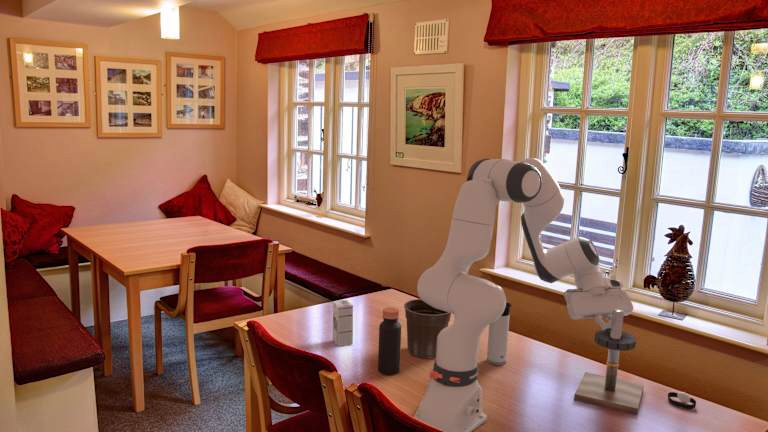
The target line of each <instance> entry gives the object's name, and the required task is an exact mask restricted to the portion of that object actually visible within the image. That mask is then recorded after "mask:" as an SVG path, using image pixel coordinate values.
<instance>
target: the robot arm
mask: <svg viewBox="0 0 768 432" xmlns="http://www.w3.org/2000/svg"><path fill="white" fill-rule="evenodd" d="M499 202H509V203H510V202H511V203H512V202H514V203H519V204H521V203H522V204H523V207H524V211H523V213H522V214H521V215H520V222H521V223H520V224H521V227H522V231H523V234H524V237H525V241H526V243H527V246H528V249H529V251H530V254H531V258H532V260H533V266H534V271H535V273H536V274H537V275H536V276H537V277H538V278H539V279H540V280H541V281H543V282H546V283H548V284H553V283H556V282H557V281H560V280H561V279H563V278H565V277H569V276H570V275H573V277H574V283H575V287H576V288H573V289H572V288H568V289H566V290H565V291H564V293H563V298H564V300H565V301H566V307H567V312H568V315H569V318H571V319H572V320H582V319H583V320H584V319H585V320H586V319H594V321H595V323H596V324H598V325H599V326H600V327H601V330H602V331H608V330H611V322H612V313H613V310H614V309H619V310H622V311H624V315H623V317H625V316H629V315H630V314H632V312H633V311H634V305H633V302H632V300H631V298H630V295H629V293H628V292H627V291H626V290H625V289H623V287H624V284H623V282H622V281H620V280H619V279H613V278H610V277H608V276H605V274H604V273H603V271H602V270H601V268H600V262H599V261H600V257H599V253H598V252H597V249H596V246H595V244H594V243H593V242H592V241H593V240H590V239H588V238H585V237H583V236H579V237H574V238H571V239H570V240H567V241H565V242H563V243H560V244H559V245H555V246H552V247H550V248H544V246H543V243H542V240H541V236H540V235H541V233H542V232H543V231H544V230H545V228H546V227H548V226H549V225H550V224H551V223H552V222H554V221H555V219H557V218H558V216H560V214H561V213H562V211H563V208H564V205H565V198H564V194H563V192H562V189H561V187H560V185H559V183H558V182H557V180H556V178H555V176H554V175H553V174H552V173H551V171H550V170H549V168H548V167H547V166H546V165H545V164H544V163H543V162H542V160H540V159H538V158H536V157H535V158H534V157H528V158H524V159H522V160H520V161H515V160H509V159H507V158H492V159H491V158H483V159H480V160H476V161H475V162H474V163H473V164H472V165H471V167H470V168H469V170H468V173H467V177H466V181H465V182H464V183H463V184H462V185H461V187H460V189H459V192H458V194H457V197H456V201H455V204H454V208H453V212H452V218H451V224H450V228H449V233H448V238H447V242H446V245H445V248H444V250H443V252H442V254H441V256H440V257H439V259H438V260H437V261H436V263H435V264H433V266H431V267H429V268H427V269H426V270H424V272H423V273H422V274H421V275H420V277H419V278H418V281H417V284H416V285H417V287H416V289H417V295H418V297H419V299H421V300H422V301H424V302H425V303H427V304H428V305H430V306H432V307H434V308H436V309H439V310H443V311H446V312H449V313H451V315H452V314H453V316H454V320H453V323H452V324H451V325H448V327H445V328H444V329H442V330H441V331H440V333H439V334H438V336H437V349H436V358H435V359H434V363H433V365H432V370H430V372H429V378H430V380H429V382H428V384H427V387H426V390H425V391H424V395H423V398H422V400H421V401H420V404H419V405H418V407H417V410H416V412H415V413H414V415H413V417H415V418H417V419H419V420H421V421H422V422H424V423H427V424H429V425H431V426H434V427H436V428H438V429H441V430H443V431H445V432H473V431H475V430H476V429H477V428H479V427H480V426H481V425H483V424H484V423H485V422H486V421H487V420H488V416H487V414H486V413H485V412H483V388H482V386H481V385H480V383H479V381H478V378H479V372H480V371H479V370H480V369H479V364H478V355H479V354H478V353H479V346H480V345H479V344H480V340H481V337H482V334H483V332H484V331H485V329H486V328H487V327H489V324H490V323H492V322H494V321H496V320H497V319H498V318H499V317H500V316H501V315H502V314H503V312H504V310H505V306H506V303H507V297H506V293H505V290H504V289H503V288H502V287H501V286H499V284H498V285H497V284H496V283H494V282H492V281H490V280H488V279H486V278H481V277H479V276H474V275H470V274H469V270H470V268H471V266H472V265H473V264H474V262H475V263H476V262H479V261H481V260H483V259H485V258H486V257H487V255H488V254H489V253H490V249H491V244H492V237H493V233H494V232H493V231H494V227H495V220H496V213H497V211H496V209H497V206H498V204H499ZM603 318H605V320H606V321H607V322H605V321H604V320H603Z"/></svg>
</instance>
